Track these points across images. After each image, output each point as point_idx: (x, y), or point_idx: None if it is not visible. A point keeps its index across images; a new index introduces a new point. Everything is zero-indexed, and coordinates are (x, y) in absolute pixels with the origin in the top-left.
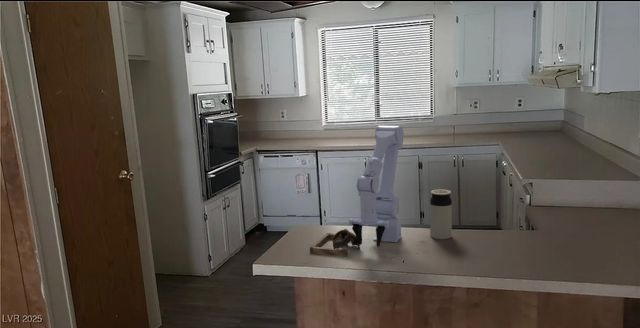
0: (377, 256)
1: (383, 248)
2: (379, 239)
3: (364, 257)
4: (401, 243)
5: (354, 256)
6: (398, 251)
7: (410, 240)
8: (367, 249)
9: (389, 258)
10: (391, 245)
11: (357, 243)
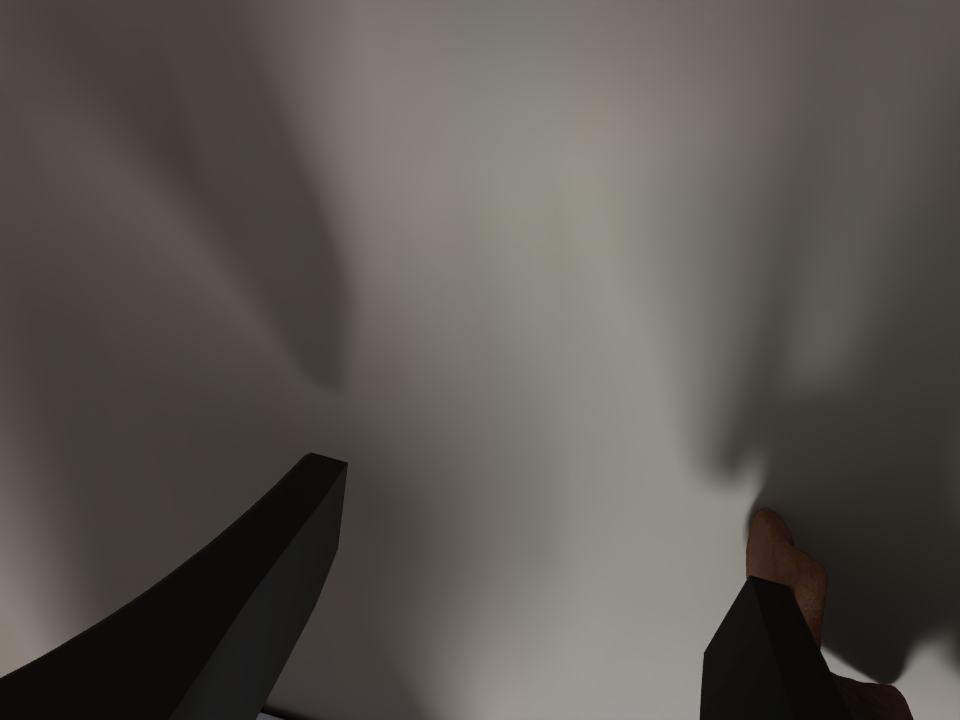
0: (330, 128)
1: None
2: (181, 565)
3: (656, 41)
4: None
5: (951, 108)
6: (19, 389)
7: None
8: (592, 507)
9: (30, 4)
10: None
11: None
